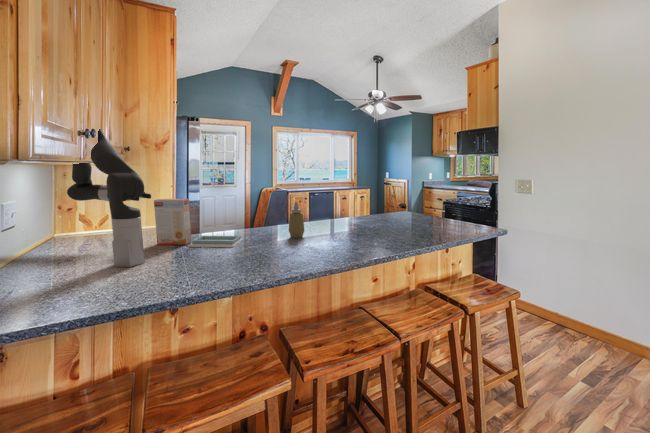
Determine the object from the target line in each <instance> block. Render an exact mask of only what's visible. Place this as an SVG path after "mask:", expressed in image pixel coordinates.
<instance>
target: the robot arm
mask: <svg viewBox="0 0 650 433" xmlns="http://www.w3.org/2000/svg"><path fill="white" fill-rule="evenodd" d="M111 144H112V143H110V142H109V141H108V139H107V137H106V135H105V134H104V132H103V131H102V129H101V128H100V129H99V131H98V143H97V144H96V145H95V146H94V147H91V151H90V152H91V157H90V160H91V161H92V163H93V164H94V166H95V167H96V169H98V171H100V172H102V173H104V174H105V175H107V177H106V185H105V184H93V182H92V165H91V163H90V162H89V163H79V164H73V163H72V171H71V178H72V181H73V182H74V184H72V185H71V186H69V187H68V188H67V190H66V194H67V196H68V197H69V198H70V199H72V200H74V201H78V202H79V201H83V202H84V201H91V200H98V201H105V202H108V203H109V211H110V217H111V227H112V238H113V240H112V242H111V246H112V254H113V265H114V267H117V268H121V267H123V268H125V267H126V268H131V267H133V266H138V265H142V264H143V263H145V252H144V240H143V238H144V237H143V226H142V214H141V210H140V208H137V207H133V206H130V205H127V204H125V203H124V202H126V201H129V202H130V201H137V202H138V201H140V199H148V200H149V199H151V198H152V194H151V193H148V192H147V193H146V191H145V184H144V181H143V179H142V177H141V176H140V174H138V172H136V171H135V170H134V169H133V168H132V167H131V166H130V165H128V164H127V163H126V161H125V160H124V159H123V158H122V157H121V155H120V154H119V153H118V151H117V150H116V149H115V148H114V147H113V145H111Z"/></svg>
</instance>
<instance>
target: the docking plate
mask: <svg viewBox="0 0 650 433" xmlns="http://www.w3.org/2000/svg"><path fill="white" fill-rule="evenodd" d="M242 240H243V241H244V238H242V235H201V236H198V237H197V238H195V239H191V244H190V243H189V248H235V247H237V244H238V245H239V244H241V241H242ZM243 241H242V242H243Z"/></svg>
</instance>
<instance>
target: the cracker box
mask: <svg viewBox="0 0 650 433" xmlns="http://www.w3.org/2000/svg"><path fill="white" fill-rule="evenodd" d="M153 205H154V206H153V208H154V220H155V230H156V242H157V243H156V244H157V245H158V246H161V245H171V246H172V245H174V246H186V245H190V243H191V244H192V228H191V217H190V216H191V215H190V214H191V213H190V199H189V198H158V199H154V200H153Z"/></svg>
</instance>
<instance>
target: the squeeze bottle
mask: <svg viewBox="0 0 650 433" xmlns="http://www.w3.org/2000/svg"><path fill="white" fill-rule="evenodd" d="M304 221H305V220H304V215H303V213H302V209H301V208H299V203H298V201H295V202H294V206H293V208H291V213H290V214H289V220H288V232H289V235H290V238H293V239H301V238H303V237H304V233H305V222H304Z"/></svg>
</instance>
